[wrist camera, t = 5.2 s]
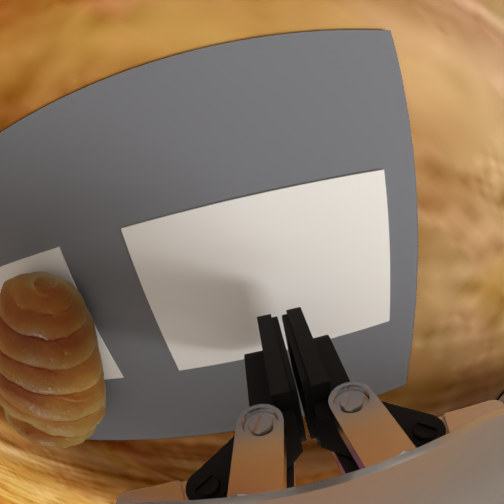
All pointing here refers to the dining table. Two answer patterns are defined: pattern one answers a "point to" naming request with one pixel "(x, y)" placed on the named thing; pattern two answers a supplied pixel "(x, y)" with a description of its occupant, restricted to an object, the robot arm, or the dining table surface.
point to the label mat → (223, 218)
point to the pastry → (49, 361)
